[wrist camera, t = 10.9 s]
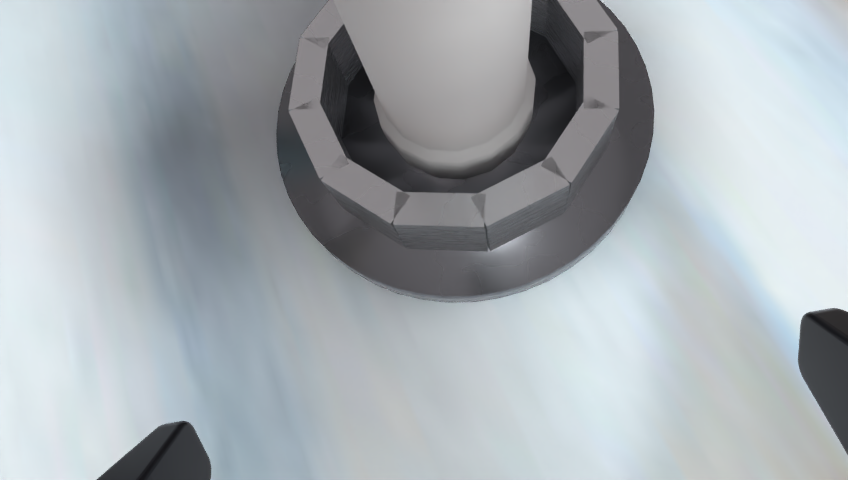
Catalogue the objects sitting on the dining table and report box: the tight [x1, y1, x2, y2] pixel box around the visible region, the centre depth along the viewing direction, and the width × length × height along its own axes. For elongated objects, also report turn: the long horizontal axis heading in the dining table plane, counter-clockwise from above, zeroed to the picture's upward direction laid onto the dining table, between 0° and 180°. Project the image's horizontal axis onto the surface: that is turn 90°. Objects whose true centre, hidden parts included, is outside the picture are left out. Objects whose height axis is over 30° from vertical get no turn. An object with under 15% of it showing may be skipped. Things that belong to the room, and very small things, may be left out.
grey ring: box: [276, 0, 654, 302], centre depth 20 cm, size 13×13×4 cm
